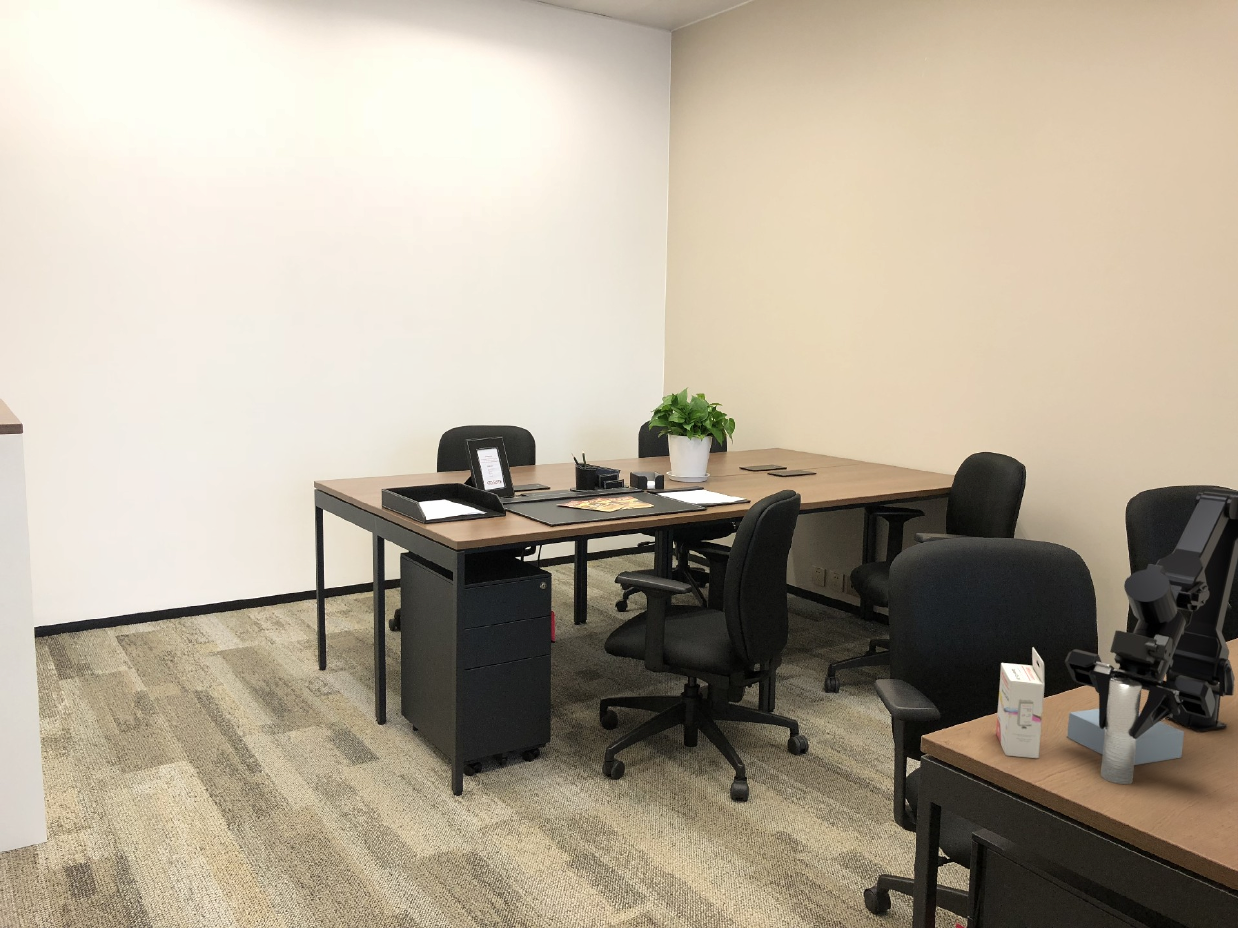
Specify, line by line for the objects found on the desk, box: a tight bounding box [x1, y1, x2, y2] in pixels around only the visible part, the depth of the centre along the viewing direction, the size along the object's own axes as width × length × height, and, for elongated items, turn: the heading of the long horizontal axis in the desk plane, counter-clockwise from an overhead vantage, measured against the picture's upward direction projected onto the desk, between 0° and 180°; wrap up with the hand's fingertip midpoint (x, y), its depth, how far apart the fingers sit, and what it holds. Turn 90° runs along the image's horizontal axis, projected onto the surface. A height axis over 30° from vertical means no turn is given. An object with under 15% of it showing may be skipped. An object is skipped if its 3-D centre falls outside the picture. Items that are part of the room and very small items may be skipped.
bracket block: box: [1066, 708, 1185, 766], centre depth 146 cm, size 11×11×4 cm
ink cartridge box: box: [995, 646, 1045, 759], centre depth 145 cm, size 9×5×15 cm, turn 168°
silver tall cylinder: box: [1100, 678, 1143, 785], centre depth 135 cm, size 4×4×14 cm
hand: (1117, 732), depth 134 cm, fingers closed on silver tall cylinder, 4 cm apart
